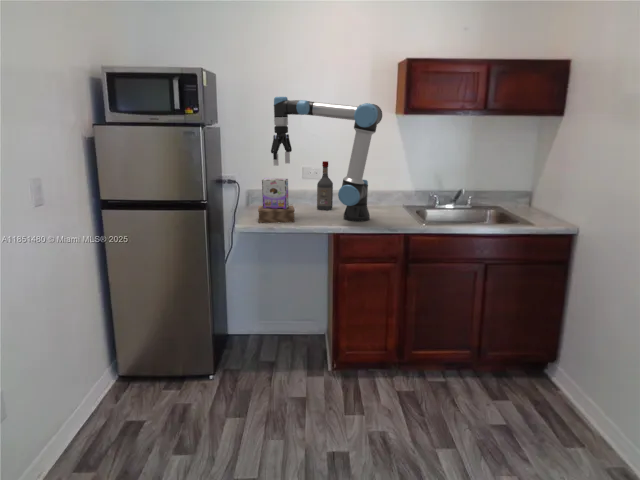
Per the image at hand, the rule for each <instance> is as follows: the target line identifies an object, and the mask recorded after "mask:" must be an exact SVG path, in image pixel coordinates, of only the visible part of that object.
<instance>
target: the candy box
mask: <svg viewBox="0 0 640 480" xmlns="http://www.w3.org/2000/svg"><path fill="white" fill-rule="evenodd" d="M261 185H262V186H261V187H262V189H261V190H262V192H261V193H262V206H263V208H273V209H287V208H288V207H289V206H290V205H289V178H277V177H276V178H275V177H273V178H269V177H264V178H262V179H261Z"/></svg>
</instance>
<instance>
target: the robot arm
mask: <svg viewBox="0 0 640 480" xmlns="http://www.w3.org/2000/svg"><path fill="white" fill-rule="evenodd" d="M273 115H274V117H273V118H274V119H273V123H274V133H275V134H273V137H272V139H273V140H272V143H271V149H270V153H271V154H272V155H273V156H272V157H273V159H272V160H273V166H275V167H276V166H279V150H280V147H281V145H282V146H283V148H284V150H285V151H284V163H285V164H288V165H289V164H291V159H290V158H291V156H290V155H291V153H292V149H293V148H292V145H291V141H290V135H289V134H288V133H289V126H288V125H289V119H288V118H289V115H292V116H296V115H300V116H315V117H323V118H324V117H325V118H329V119H330V118H332V119H341V120H346V121H347V120H349V121H354V124H353V129H354V130H355V134H354V139H353V144H352V150H351V152H350V153H351V154H350V159H349V163H348V169H347V173H346V176H345V177H344V178H343V179H342V185H341V186H340V188H339V190H338V194H337V197H338V199H339V201H340V203H341V204H343V205H344V206H346V207H345V210H344V212H343V219H344V220H345V221H349V222H366V221H370V219H371V218H370V217H371V216H370V211H369V208H368V195H369V193H368V192H369V191H368V190H369V189H368V188H369V181H368V180H367V179H363V177H364V174H365V170H366V169H365V168H366V164H367V160H368V155H369V150H370V145H371V142H372V141H371V140H372V136H373V135H374V134H375V133H376V131H377V127H378V125H379V124H380V123H381V122H382V119H383V111H382V108H381V107H380V106H379V105H377V104H374V103H369V102H367V103H366V102H365V103H362V104H359V105H349V104H338V103H330V102H328V103H327V102H317V101H310V100H305V99H300V100H299V99H298V100H295V99H294V100H288V96H275V97H274V99H273Z"/></svg>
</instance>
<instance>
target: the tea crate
mask: <svg viewBox="0 0 640 480" xmlns="http://www.w3.org/2000/svg"><path fill="white" fill-rule="evenodd" d="M257 209H258V210H257V211H258V223H259V224H260V223H261V224H262V223H264V224H266V223H268V224H269V223H275V224H276V223H278V222H280V223H295V212H296V211H295V207H294V205H289V207H288V208H287V209H273V208H263V205H258V208H257Z"/></svg>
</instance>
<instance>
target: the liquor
mask: <svg viewBox="0 0 640 480" xmlns="http://www.w3.org/2000/svg"><path fill="white" fill-rule="evenodd" d="M321 166H322V176H321V178H320V179H319V180H318V182H317V184H316V185H317V186H316V190H317V192H316V208H317V211H318V210H319V211H331V210H332V209H333V197H334V194H333V193H334V186H333V185H334V183H333V181H332V180H331V178H329V174H328V173H329V161H327V160H326V161H322V165H321Z"/></svg>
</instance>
